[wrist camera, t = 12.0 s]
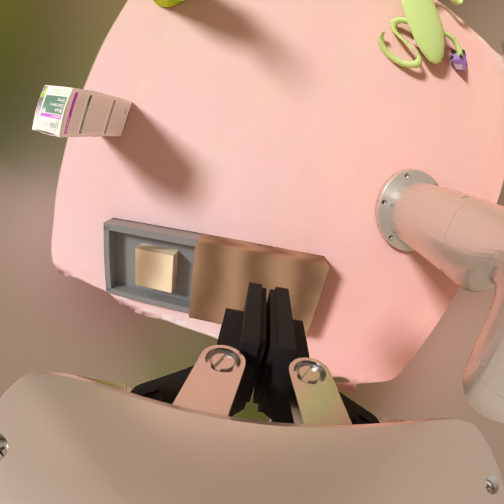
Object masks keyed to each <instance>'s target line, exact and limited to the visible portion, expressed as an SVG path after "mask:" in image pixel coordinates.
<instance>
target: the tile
mask: <svg viewBox="0 0 504 504" xmlns="http://www.w3.org/2000/svg"><path fill="white" fill-rule="evenodd" d="M177 263H178V250H175V249H170V248H165V247H160V246H154V245H149V244H144V243H142V244H140V245H139V246H138V247H137V248H135V282H136V285H140V286H144V287H148V288H152V289H156V290H160V291H165V292H169V293H172V291H173V290H174V288H175V286H176V277H177Z"/></svg>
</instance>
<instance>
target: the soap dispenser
mask: <svg viewBox="0 0 504 504" xmlns="http://www.w3.org/2000/svg"><path fill="white" fill-rule="evenodd" d="M153 1H154V2H155V3H156V4H157V5H158V6H160V7H172V6H175V5H177V4H179V3H181V2H183V1H184V0H153Z"/></svg>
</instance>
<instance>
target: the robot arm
mask: <svg viewBox="0 0 504 504" xmlns="http://www.w3.org/2000/svg"><path fill="white" fill-rule="evenodd" d="M405 175H406V176H405ZM382 200H383V203H382ZM376 220H377V225H378V228H379V230H380V233H381V234H382V236H383V238H384V239H385V240H386V241H387V242H388V243H389V244H390V245H392V246H393V247H394V248H396V249H398V250H402V251H416V252H418V253H419V254H420V255H422V256H423V257H424V258H426V259H427V260H428V261H429V262H431V263H432V264H433V265H434V266H436V267H437V268H438V269H439V270H440V271H442V272H443V273H444V274H445V275H447V276H448V277H449V278H450V279H451V280H453V281H454V282H455V283H456V284H457V285H459V286H460V287H462V288H463V289H465V290H468V291H472V292H481V291H482V292H483V291H487V290H491V289H494V288H495V295H494V298H493V301H492V305H491V307H490V312H489V315H488V317H487V320H486V322H485V324H484V327H483V329H482V331H481V334H480V336H479V338H478V340H477V342H476V345H475V347H474V349H473V351H472V353H471V355H470V357H469V359H468V362H467V364H466V366H465V370H464V373H463V381H462V384H463V391H464V394H465V397H466V399H467V400H468V402H469V403H470V405H471V406H472V407H473V408H474V409H475V410H476V411H478V412H479V413H480V414H482V415H483V416H485V417H487V418H489V419H492V420H495V421H498V422H502V423H504V207H503V206H501V205H498V204H495V203H492V202H489V201H486V200H483V199H479V198H476V197H473V196H470V195H467V194H464V193H461V192H457V191H454V190H451V189H447V188H444V187H440V186H439V185H438V184H437V182H436V181H435V180H434V179H433V178H432V177H431V176H430V175H428V174H427V173H425V172H423V171H419V170H413V169H409V170H403V171H400V172H398V173H396V174H395V175H393V176H392V177H391V178H390V179H389V180H388V181H387V182H386V183H385V185H384V186H383V187H382V189H381V191H380V194H379V196H378V200H377V205H376ZM389 236H390V237H389ZM266 290H267V289H266V288H262V284H259V283H253V282H249V286H248V291H247V296H246V301H245V307H244V311H241V310H235V309H230V308H226V310H225V314H224V318H223V322H222V326H221V330H220V334H219V338H218V342H217V345H214V346H210V347H208V348H206V349H205V350H204V351H203V352H202V353H201V355H200V357H199V358H198V360H197V362H196V364H195V365H194V366H192V367H189V368H187V369H184V370H181V371H178V372H176V373H172V374H169V375H167V376H164V377H161V378H158V379H155V380H152V381H149V382H145V383H142V384H140V385H138V386H136V387H135V388H128V387H127V385H126V384H121V383H114V382H109V381H103V380H97V379H92V378H87V377H82V376H77V375H71V374H66V373H58V372H47V371H45V372H44V371H42V372H33V373H30V374H27V375H26V376H24V377H22V378H21V379H19V380H18V381H17V382H15V383H14V384H13V385H12V386H11V387H10V388H9V389H8V390H7V391H6V392H5V393H4V394H3V396H2V397H1V398H0V504H504V482H503V479H502V476H501V474H500V471H499V469H498V466H497V464H496V461H495V459H494V457H493V454H492V452H491V450H490V448H489V446H488V444H487V443H486V441H485V439H484V437H483V436H482V434H481V433H480V431H479V430H478V429H477V428H476V427H475V426H474V425H473V424H471V423H469V422H466V421H463V420H458V419H453V418H429V419H419V420H409V421H406V420H397V419H388V418H381V419H380V420H378V419H377V418H376V417H375V416H374V415H373V414H372V413H370V412H368V411H367V410H365V409H364V408H362V407H361V406H359V405H358V404H356V403H355V402H353V401H352V400H350V399H349V398H347V397H346V396H345V395H343V394H342V393H340V392H339V391H338V389H337V387H336V385H335V382H334V381H333V378H332V376H331V373H330V371H329V369H328V368H327V367H326V366H325V365H324V364H323V363H322V362H320V361H318V360H316V359H312V358H309V352H308V347H307V341H306V335H305V330H304V325H303V321H302V320H295V319H293V317H292V309H291V302H290V295H289V289H287V288H281V287H275V289H274V290H273V289H270V291H269V295H268V299H267V303H266ZM253 388H254V397H253V403H258V411H259V412H263V413H265V414H266V415H267V416H268V417H269V418H268V421H259V420H251V419H244V418H237V417H233V415H234V414H236V413H237V412H239V411H241V410H243V409H244V408H245V404H246V402H249V401H250V398H251V395H252V392H253Z"/></svg>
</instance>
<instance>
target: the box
mask: <svg viewBox="0 0 504 504" xmlns="http://www.w3.org/2000/svg"><path fill="white" fill-rule="evenodd" d="M201 235H202V233H196V232H191V231H185V230H180V229H174V228H168V227H163V226H157V225H151V224H146V223H140V222H134V221H129V220H123V219H117V218H112V219H110V220H108V221H106V222H104V262H105V279H106V291H107V293H111V294H114V295H118V296H121V297H125V298H129V299H132V300H136V301H140V302H144V303H148V304H152V305H156V306H160V307H164V308H168V309H172V310H177V311H181V312H185V313H189V310H190V297H191V285H192V274H193V264H194V254H195V245H196V241H197V240H198V239H199V238H200V236H201ZM142 243H144V244H149V245H154V246H160V247H165V248H170V249H175V250H178V263H177V277H176V286H175V288H174V290H173V291H172V293H169V292H165V291H160V290H156V289H152V288H148V287H144V286H140V285H136V282H135V248H137V247H138V246H139V245H140V244H142Z"/></svg>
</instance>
